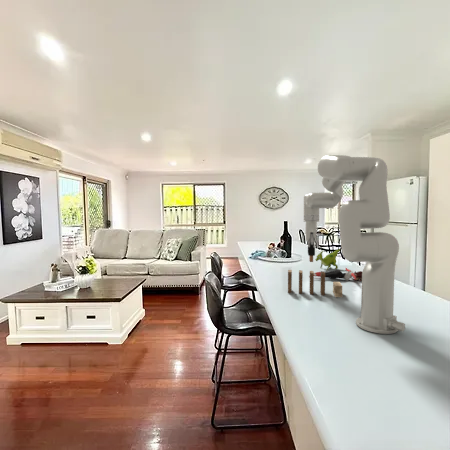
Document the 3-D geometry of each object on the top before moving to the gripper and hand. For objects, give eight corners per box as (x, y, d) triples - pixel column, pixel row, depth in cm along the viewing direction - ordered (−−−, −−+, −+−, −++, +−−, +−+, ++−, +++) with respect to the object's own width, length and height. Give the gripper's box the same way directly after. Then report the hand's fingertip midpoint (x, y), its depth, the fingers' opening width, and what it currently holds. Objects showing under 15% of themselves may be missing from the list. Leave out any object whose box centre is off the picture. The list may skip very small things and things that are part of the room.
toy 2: (311, 285, 153) (373, 288, 147) (311, 274, 153) (373, 277, 147) (307, 273, 180) (359, 275, 174) (307, 264, 180) (360, 266, 174)
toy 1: (318, 275, 195) (310, 256, 192) (339, 257, 203) (331, 239, 199) (327, 277, 188) (319, 258, 184) (349, 259, 195) (341, 240, 191)
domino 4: (313, 291, 140) (313, 270, 139) (313, 294, 135) (313, 273, 134) (309, 291, 140) (309, 270, 140) (309, 294, 135) (310, 273, 135)
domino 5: (323, 292, 138) (324, 271, 138) (324, 295, 134) (325, 273, 133) (320, 292, 139) (320, 271, 138) (321, 295, 134) (321, 273, 133)
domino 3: (312, 260, 150) (312, 241, 150) (313, 262, 145) (313, 242, 145) (309, 260, 150) (309, 241, 150) (309, 261, 146) (309, 241, 145)
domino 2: (302, 290, 141) (302, 270, 140) (302, 293, 136) (302, 272, 136) (298, 290, 141) (298, 270, 141) (298, 293, 136) (299, 272, 136)
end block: (339, 292, 138) (339, 281, 138) (342, 297, 130) (342, 286, 130) (333, 292, 139) (333, 281, 139) (335, 296, 131) (335, 285, 131)
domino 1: (291, 290, 142) (291, 269, 142) (291, 293, 137) (291, 272, 137) (288, 290, 142) (288, 269, 142) (287, 292, 138) (288, 271, 137)
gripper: (303, 218, 156) (303, 252, 157) (304, 219, 140) (303, 256, 140) (318, 218, 154) (317, 252, 155) (320, 218, 138) (320, 257, 139)
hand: (311, 254), depth 148 cm, fingers closed on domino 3, 4 cm apart
